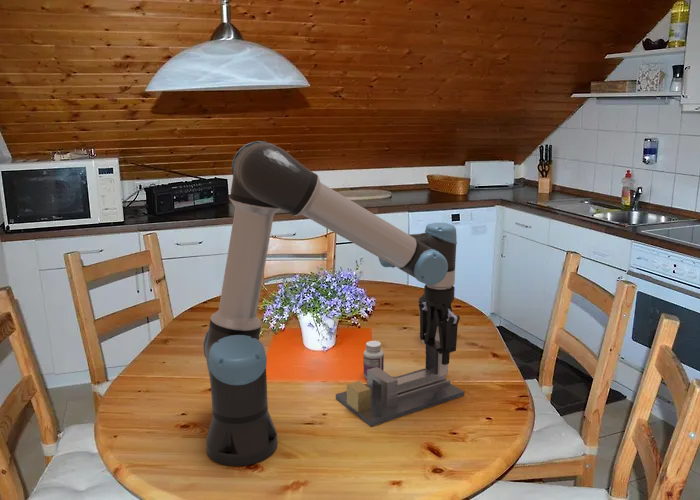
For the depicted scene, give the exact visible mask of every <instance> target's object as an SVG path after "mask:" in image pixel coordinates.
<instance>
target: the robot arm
mask: <svg viewBox="0 0 700 500" xmlns="http://www.w3.org/2000/svg"><path fill="white" fill-rule="evenodd" d="M231 173H232V182H231V187H230V195H229V201H230V202H231V204H232V205H233V206H234V214H233V220H232V226H231V231H230V232H231V233H230V239H229V245H228V251H227V255H226V256H227V257H226V263H225V270H224V275H223V281H222V287H221V294H220V300H219V306H218V310H217V311H215V312H214V313H212V314H211V315H210V319H209V326H208V330H207V331H206V334H205V335H204V339H203V345H202V347H203V355H204V357H205V361H206V366H207V371H208V376H209V377H208V378H209V383H210V394H211V396H210V397H211V409H212V418H211V421H210V425H209V429H208V431H207V432H208V433H207V435H206V439H205V441H206V442H205V444H206V445H205V447H206V454H207V456H208V458H210V460H212V461H213V462H215V463H217V464H220V465H225V466H229V467H230V466H231V467H238V466H239V467H240V466H249V465H253V464H256V463H259V462H261V461H264V460H265V459H267V458H269V457H270V456H272V455H273V453H274V452H276V450H277V447H278V443H279V442H278V432H277V429H276V427H275V425H274V422H273V420H272V416H271V415H270V413H269V404H268V402H269V401H268V382H267V380H268V379H267V361H268V360H267V359H268V358H267V353H266V350H265V347H264V344H263V342H261V341H260V335H261V330H262V329H261V328H262V325H263V324H262V321H261V320H260V319H259V317H258V316H257V314H258V308H259V301H260V296H261V292H262V291H261V290H262V284H263V279H264V272H265V267H266V264H267V263H266V262H267V256H268V250H269V244H270V239H271V234H272V233H271V232H272V229H273V221H274V217H275V214H276V213H277V212H279V211H280V210H282V211H285V212H287V213H288V214H290V215H291V216H294V217H299V216H304V217H306V218H308V219H310V220H311V221H313V222H314V223H317V224H318V225H320V226H322V227H324V228H325V229H327V230H328V231H331V232H332V233H335V234H336V235H338V236H340V237H342V238H344V239H345V240H347V241H349V242H351V243H352V244H353V245H355V246H357V247H360V248H361V249H363V250H364V251H366V252H369V253H370V254H372V255H374V256H376V257H377V258H378V261H379V263H380V265H381V267H383V268H392V269H394V268H397V269H399V270H401V271H402V272H404V273H406V274H407V275H409V276H411V277H413V278H415V279H416V280H417V281H418V282H420V283H422V284H425V285H424V288H423V292H424V293H423V294H424V299H425V300H426V302H424V303H419V302H418V308H419V309H420V316H419V338H420V341H421V340H424V343H425V345H426V344H428V343H431V342H435V341H436V340H435V336H436V331H437V326H438V329H439V339H440V349H441V351H438V376H439V377H440V376H443V375H446V376H447V375H448V373H449V364H450V357H451V356H450V354H451V353H453V352H456V351H457V341H458V326H459V322H460V319H461V317H460V315H458V314H457V315H455V314H454V312H453V307H452V304H453V302H454V300H455V290H456V289H455V286H454V285H455V283H456V277H455V276H456V260H457V259H456V257H457V245H458V240H457V228H456V227H455V225H454V224H452V223H447V222H433V223H428V224H427V225H426V226H425V229H424V230H425V231H424V232H423V233H412V234H410V233H409V234H408V233H406V231H403V230H402V229H400V228H398V227H396V226H395V225H393V224H392V223H390V222H388V221H387V220H385V219H383V218H381V217H380V216H378V215H377V214H375V213H373V212H371V211H369V210H368V209H366V208H364V207H363V206H361V205H359V203H356V202H354V201H353V200H351V199H349V198H347V197H346V196H344V195H343V194H341V193H339V192H337V191H336V190H334V189H332V188H331V187H329V186H327V185H326V184H324V183H322V182H321V180H320V177H319V175H318V173H317V174H316V173H315V172H313V171H312V170H310V169H308V168H307V167H306V166H305V165H303V164H302V163H301V162H299V161H298V160H297V159H295V157H293V156H292V155H291V154H290V153H289V152H287V151H286V150H284V149H283V148H281V147H280V146H277V145H275V144H274V143H270V142H267V141H259V140H257V141H252V142H249V143H246V144H245V145H244V146H242V147H241V148H239V150H238V151H237V152H236V153H235V155H234V157H233V160H232V162H231ZM419 309H418V310H419ZM444 321H445V322H444ZM425 333H426V334H425ZM424 334H425V335H424ZM424 343H423V344H424ZM445 347H446V348H445Z"/></svg>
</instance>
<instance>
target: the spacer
mask: <svg viewBox="0 0 700 500" xmlns="http://www.w3.org/2000/svg"><path fill="white" fill-rule="evenodd" d="M366 385H367V384H364V383H363V382H361V381H360V380H358V381H354V382H351V383H347V384H346V391H347V404H348V405H350V406H351V407H352V408H353V409H355V410H356V411H357V412H360V411H363V410H366V409H369V408H370V388H368V387H367V386H366Z"/></svg>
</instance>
